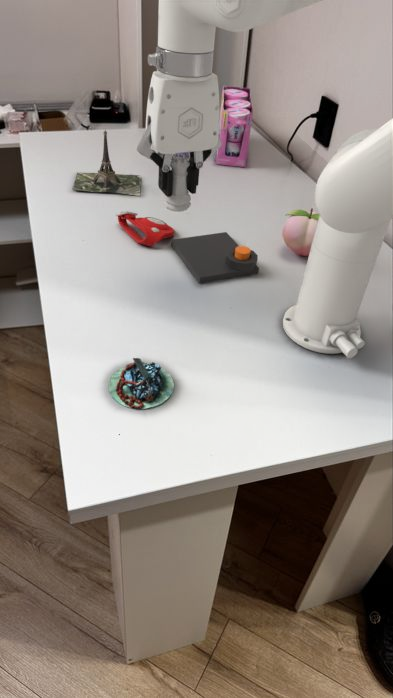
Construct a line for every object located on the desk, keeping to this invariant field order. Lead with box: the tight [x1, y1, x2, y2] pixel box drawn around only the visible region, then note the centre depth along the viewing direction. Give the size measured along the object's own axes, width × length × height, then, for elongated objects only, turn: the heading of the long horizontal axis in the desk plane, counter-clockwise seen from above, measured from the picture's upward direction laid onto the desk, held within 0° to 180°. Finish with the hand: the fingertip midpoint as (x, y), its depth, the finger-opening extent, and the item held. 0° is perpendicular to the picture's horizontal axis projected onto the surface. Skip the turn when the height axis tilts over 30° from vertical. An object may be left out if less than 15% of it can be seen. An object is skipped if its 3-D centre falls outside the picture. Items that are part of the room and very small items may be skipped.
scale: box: [170, 231, 260, 285], centre depth 100 cm, size 14×12×3 cm
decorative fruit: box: [281, 207, 320, 257], centre depth 102 cm, size 9×8×10 cm
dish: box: [108, 357, 175, 410], centre depth 74 cm, size 8×7×8 cm
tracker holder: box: [115, 210, 175, 247], centre depth 105 cm, size 12×4×10 cm
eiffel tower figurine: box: [72, 129, 141, 197], centre depth 119 cm, size 15×10×13 cm
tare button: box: [235, 245, 252, 260], centre depth 97 cm, size 3×3×2 cm
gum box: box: [216, 85, 254, 168], centre depth 141 cm, size 24×8×14 cm, turn 177°
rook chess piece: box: [163, 153, 192, 213], centre depth 83 cm, size 4×4×8 cm
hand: (178, 190), depth 84 cm, fingers closed on rook chess piece, 3 cm apart
